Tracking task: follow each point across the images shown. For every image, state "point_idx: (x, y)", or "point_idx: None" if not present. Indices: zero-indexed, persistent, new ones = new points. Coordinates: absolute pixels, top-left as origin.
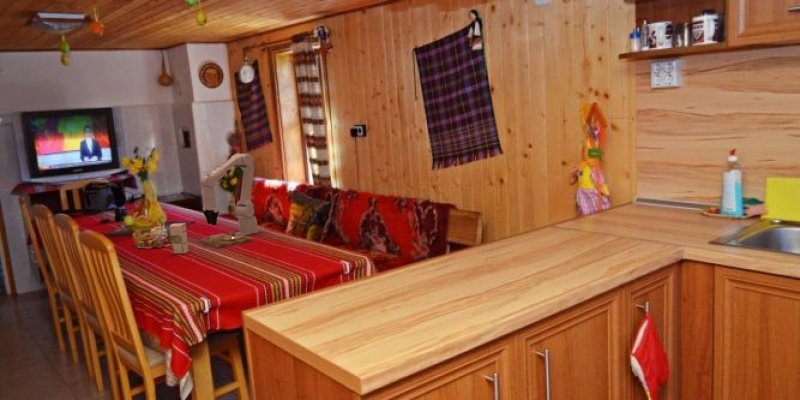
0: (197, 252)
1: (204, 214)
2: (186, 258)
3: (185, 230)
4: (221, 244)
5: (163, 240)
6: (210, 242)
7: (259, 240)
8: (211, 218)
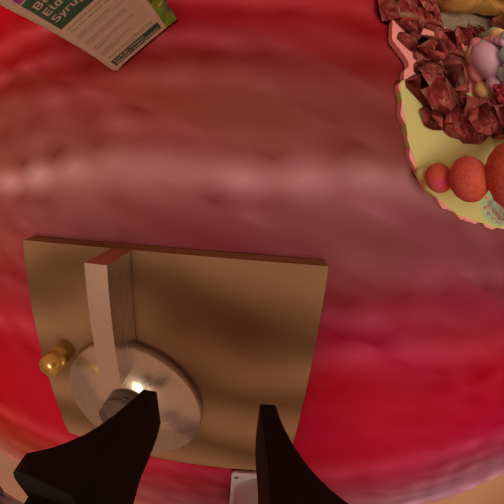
0: (44, 108)
1: (313, 489)
2: (7, 38)
3: (14, 8)
4: (32, 273)
5: (469, 55)
6: (109, 249)
7: (74, 436)
8: (87, 435)
